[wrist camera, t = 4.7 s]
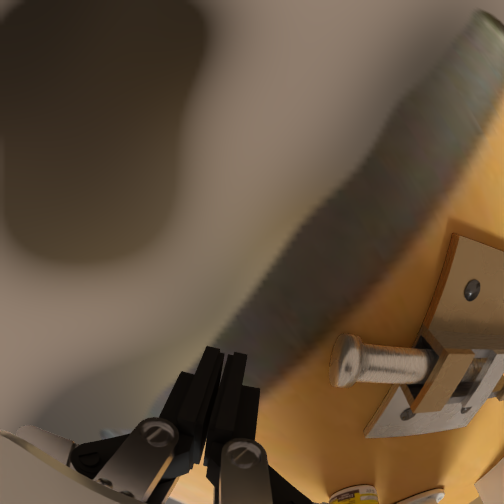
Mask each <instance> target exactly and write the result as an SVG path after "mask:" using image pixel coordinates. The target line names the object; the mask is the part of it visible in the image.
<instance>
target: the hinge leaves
mask: <svg viewBox="0 0 504 504" xmlns="http://www.w3.org/2000/svg"><path fill="white" fill-rule="evenodd" d="M412 348H416V349H431V350H434V351H435V352H436V353H437V355H438V356H439V359H438V361H437V363H436V365H435V367H434V368H433V370H432V372H431V374H430V376H429V377H428V379H427V381H426V382H425V384H393V385H392V387H391V388H390V390H389V392H388V394H387V395H386V397H385V399H384V400H383V402H382V404H381V405H380V407H379V408H378V410H377V411H376V413H375V415H374V416H373V418H372V419H371V421H370V422H369V424H368V425H367V427H366V428H365V429H364V431H363V432H364V436H365V438H384V437H399V436H409V435H418V434H426V433H433V432H440V431H445V430H451V429H456V428H461V427H466V426H467V425H468V423H469V422H470V421H471V419H472V418H473V417H474V416H475V414H476V413H477V411H478V410H479V409H480V407H481V406H482V405H483V404H484V403H485V401H486V400H487V398H492V397H497V399H498V400H499V401H502V400H504V376H503V373H504V252H503V251H501V250H498V249H495V248H493V247H490V246H488V245H485V244H482V243H480V242H477V241H474V240H471V239H469V238H466V237H463V236H460V235H457V234H454V233H453V234H452V238H451V242H450V245H449V249H448V253H447V256H446V260H445V263H444V266H443V270H442V273H441V276H440V279H439V282H438V285H437V288H436V291H435V293H434V296H433V299H432V301H431V304H430V307H429V309H428V312H427V314H426V317H425V319H424V322H423V324H422V326H421V329H420V331H419V333H418V335H417V338H416V340H415V342H414V344H413V346H412ZM473 358H488V359H487V360H486V362H485V364H484V366H483V368H482V369H481V371H480V373H479V375H478V376H477V378H476V380H475V381H472V382H460V381H461V379H462V378H463V376H464V374H465V373H466V371H467V369H468V367H469V366H470V364H471V362H472V360H473Z"/></svg>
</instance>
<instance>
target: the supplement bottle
mask: <svg viewBox="0 0 504 504" xmlns="http://www.w3.org/2000/svg"><path fill="white" fill-rule="evenodd" d="M329 503H331V504H379V502H378V497H377V492H376V489H375V488H374V487H373V486H369V485H360V486H354V487H349V488H346V489H343V490H341V491H338V492H336V493H335V494H333V495H332V496H331V497H330V499H329Z"/></svg>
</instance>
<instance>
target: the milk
mask: <svg viewBox="0 0 504 504" xmlns="http://www.w3.org/2000/svg"><path fill="white" fill-rule="evenodd" d="M474 485H475V487H476V489H477V491H478V493H479V496H480V497H481V500H482V502H483V504H504V457H503V458H502V459H501V460H500V461H499V462H498V463H497V464H496V465H495V466H494V467H493V468H492V469H491V470H490V471H489V472H488V473H486V474H485V475H484V476H483V477H482V478H481V479H479V480H478V481H477V482H476V483H475V484H474Z"/></svg>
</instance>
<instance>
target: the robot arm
mask: <svg viewBox="0 0 504 504" xmlns="http://www.w3.org/2000/svg"><path fill="white" fill-rule="evenodd" d="M223 360H224V353H220V349H218V348H213V347H209V346H206V349H205V351H204V353H203V356H202V358H201V361H200V363H199V366H198V368H197V370H196V373H195V375H194V374H190V373H186V372H183V371H182V372H181V373H180V375H179V377H178V379H177V381H176V383H175V385H174V387H173V389H172V391H171V393H170V395H169V397H168V399H167V402H166V404H165V406H164V408H163V410H162V412H161V414H160V416H159V418H157V417H152V418H147V419H145V420H142V421H141V422H140V423H139V424H138V425H137V426H136V427H135V429H134V430H133V431H132V432H131V433H130V434H126V435H122V436H118V437H114V438H109V439H104V440H100V441H95V442H90V443H84V444H81V445H79V444H76V443H74V442H73V441H72V440H70V439H66V438H64V437H61V436H58V435H55V434H52V433H50V432H47V431H45V430H42V429H40V428H37V427H35V426H32V425H24V426H22V427H20V428H19V429H18V431H17V432H16V435H14V434H12V433H9V432H7V431H4V430H1V429H0V504H165V502H166V501H167V499H168V497H169V496H170V494H171V492H172V490H173V489H174V487H175V485H176V483H177V482H178V480H179V477H180V476H181V475H184V474H186V473H189V470H190V469H192V468H193V465H194V463H195V464H199V463H200V460H201V456H202V452H203V449H204V445H205V442H206V448H205V456H204V464H203V466H207V474H206V477H207V478H208V480H209V481H210V482H211V483H212V484H213V485H214V489H213V504H319V503H314V502H312V501H311V500H310V499H308V498H307V497H306V496H305V495H303V494H302V493H301V492H300V491H298V490H297V489H296V488H295V487H293V486H292V485H291V484H290V483H289V482H287V481H286V480H285V479H284V478H283V477H282V476H281V475H279V474H278V473H277V472H276V471H275V470H274V469H273V468H272V467H270V466H269V465H268V461H267V454H266V451H265V449H264V448H263V447H262V445H260V444H259V443H257V442H256V441H255V434H256V425H257V415H258V406H259V396H260V388H254V387H249V386H243V385H242V382H243V377H244V371H245V366H246V360H247V355H246V354H241V353H236V352H234V355H229V354H228V358H227V361H226V365H225V368H224V372H223V375H222V379H221V382H220V378H221V372H222V366H223ZM219 385H220V386H219ZM206 438H207V440H206ZM444 495H445V493H444V490H443V489H434V490H430V491H427V492H424V493H421V494H418V495H415V496H413V497H410V498H407V499H405V500H403V501H400V502H398V503H396V504H437V503H438V502H439V501H440V500H441V499H442V498H443V497H444ZM321 504H331V503H325V502H322V503H321Z"/></svg>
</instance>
